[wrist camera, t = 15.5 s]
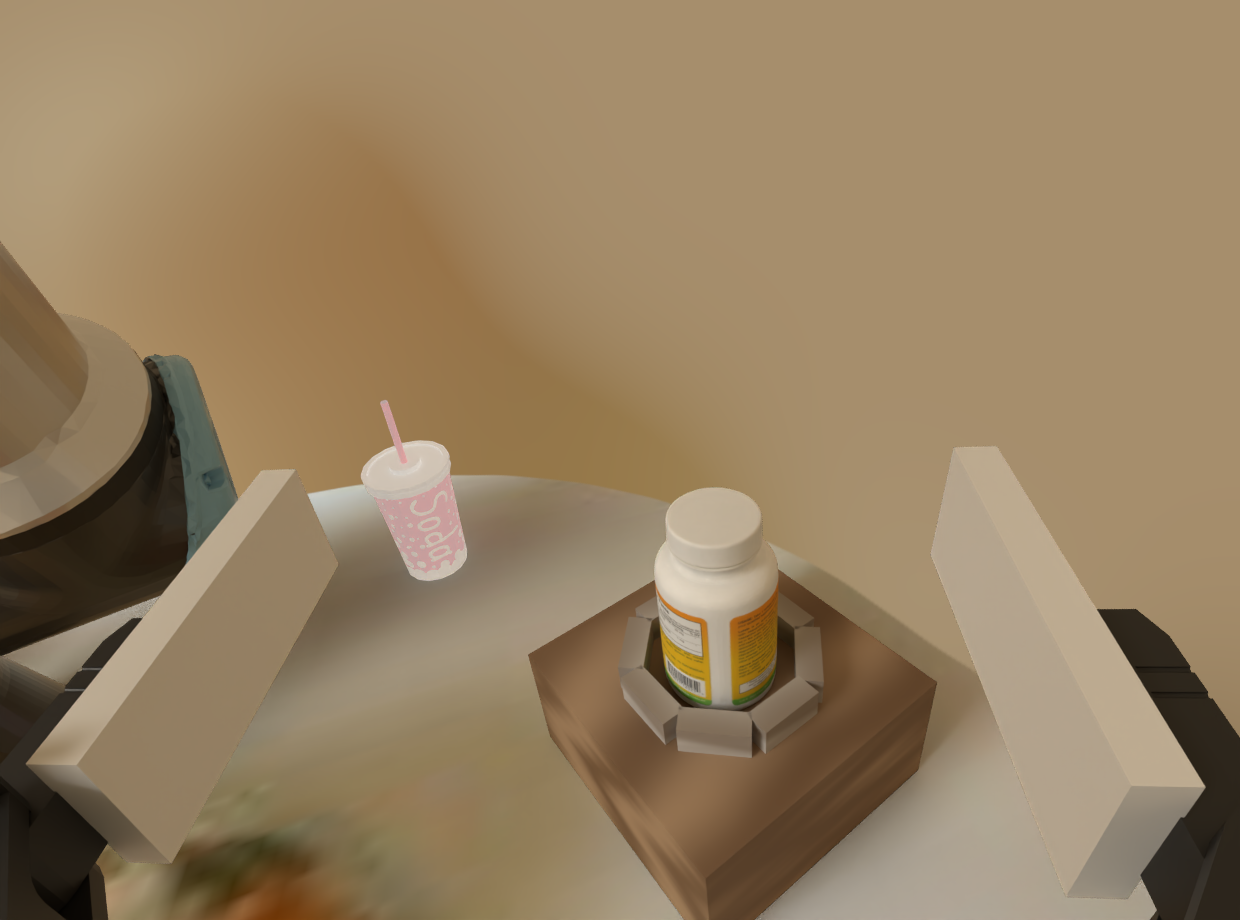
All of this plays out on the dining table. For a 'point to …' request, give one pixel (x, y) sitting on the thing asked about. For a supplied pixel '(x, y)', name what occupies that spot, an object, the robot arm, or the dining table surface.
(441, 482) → the beverage cup
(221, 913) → the dining table surface
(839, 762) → the carrier block
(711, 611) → the supplement bottle
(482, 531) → the dining table surface
